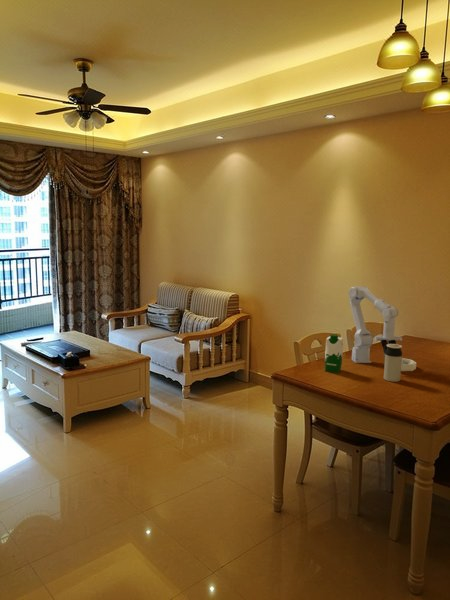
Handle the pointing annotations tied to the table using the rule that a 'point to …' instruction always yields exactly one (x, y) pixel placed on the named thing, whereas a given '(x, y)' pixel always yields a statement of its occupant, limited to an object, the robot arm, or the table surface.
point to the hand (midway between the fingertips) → (387, 353)
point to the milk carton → (333, 353)
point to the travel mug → (393, 363)
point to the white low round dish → (408, 365)
